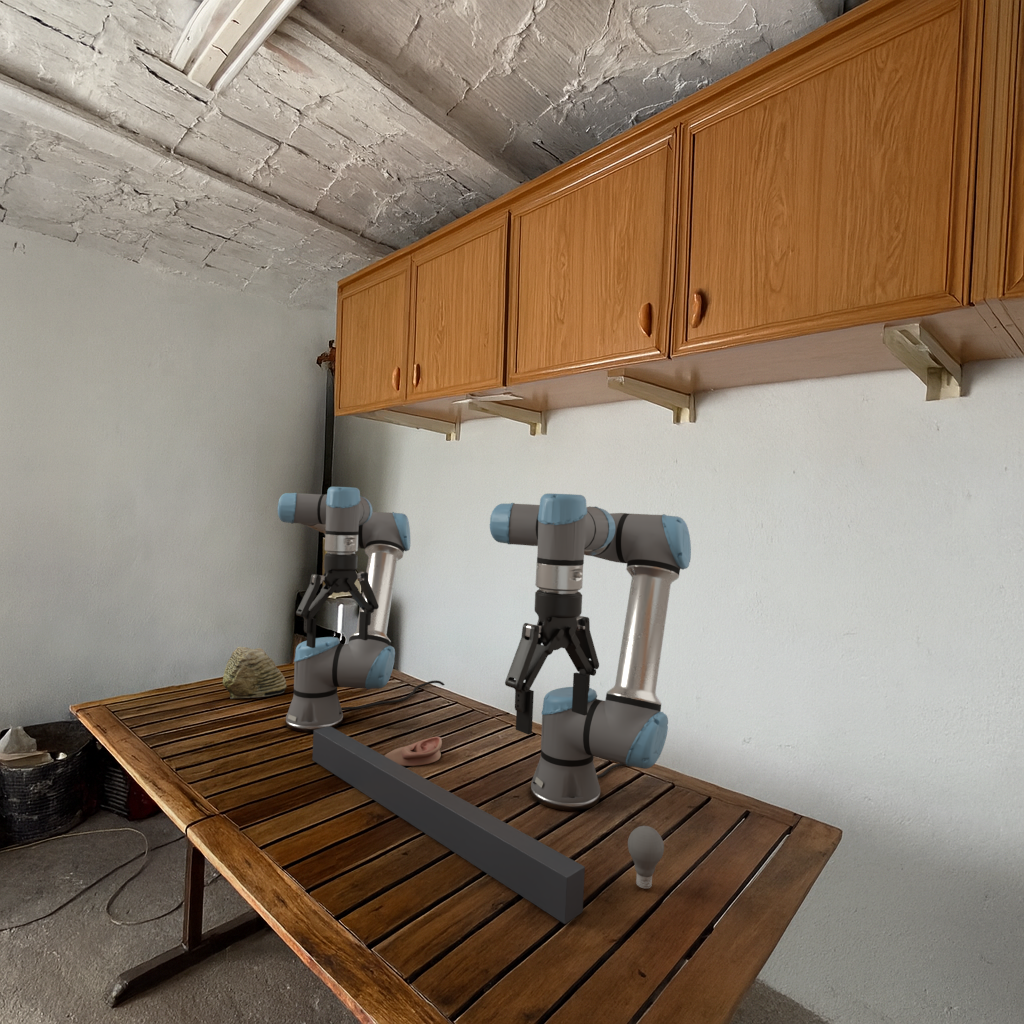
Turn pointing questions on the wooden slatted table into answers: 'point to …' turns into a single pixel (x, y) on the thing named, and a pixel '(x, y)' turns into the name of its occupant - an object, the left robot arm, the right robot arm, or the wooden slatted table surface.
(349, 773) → the post
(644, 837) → the light bulb
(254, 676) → the fossil
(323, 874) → the wooden slatted table surface
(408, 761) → the anatomical model
